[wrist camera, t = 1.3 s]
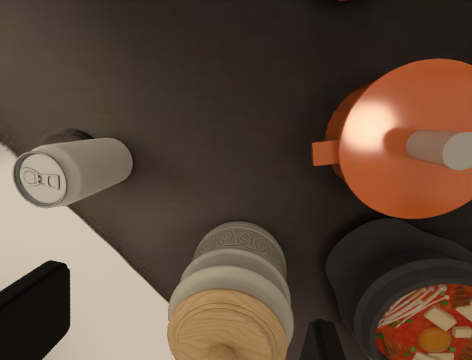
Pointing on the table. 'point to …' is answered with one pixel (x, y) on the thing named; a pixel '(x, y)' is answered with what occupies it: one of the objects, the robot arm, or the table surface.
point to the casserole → (403, 292)
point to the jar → (232, 298)
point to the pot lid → (411, 140)
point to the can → (70, 170)
